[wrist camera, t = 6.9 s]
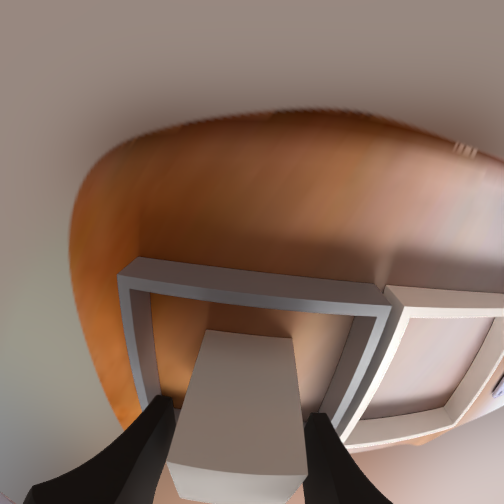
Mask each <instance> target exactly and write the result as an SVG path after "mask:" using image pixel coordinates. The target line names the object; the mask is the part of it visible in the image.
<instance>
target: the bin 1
mask: <svg viewBox="0 0 504 504" xmlns="http://www.w3.org/2000/svg"><path fill="white" fill-rule="evenodd" d="M117 281H118V291H119V299H120V307H121V314H122V321H123V327H124V333H125V339H126V345H127V350H128V355H129V360H130V365H131V369H132V374H133V378H134V382H135V386H136V390H137V394H138V398H139V402H140V405H141V409H142V412H143V411H144V410H145V408H146V407H147V406H148V405H149V403H150V402H151V401H152V400H153V398H154V397H155V396H156V395H162V394H161V388H160V382H159V376H158V369H157V362H156V354H155V346H154V337H153V327H152V316H151V303H150V292H152V293H158V294H164V295H170V296H176V297H183V298H189V299H196V300H203V301H210V302H218V303H225V304H233V305H242V306H250V307H259V308H268V309H278V310H288V311H299V312H311V313H324V314H338V315H354V316H355V318H354V321H353V324H352V327H351V330H350V333H349V336H348V339H347V341H346V344H345V347H344V350H343V353H342V355H341V358H340V361H339V363H338V366H337V369H336V371H335V374H334V376H333V379H332V381H331V384H330V386H329V388H328V391H327V393H326V395H325V398H324V400H323V402H322V405H321V407H320V409H319V411H318V413H326V414H327V415H328V417H329V419H330V421H331V423H332V425H333V427H334V429H336V427H337V426H338V424H339V422H340V421H341V419H342V417H343V415H344V413H345V412H346V410H347V408H348V406H349V404H350V402H351V400H352V398H353V396H354V395H355V393H356V391H357V389H358V387H359V384H360V382H361V380H362V378H363V376H364V374H365V372H366V370H367V368H368V365H369V363H370V361H371V359H372V356H373V354H374V352H375V349H376V347H377V344H378V342H379V340H380V337H381V335H382V332H383V329H384V327H385V324H386V321H387V319H388V316H389V313H390V310H391V308H392V305H391V304H390V303H389V301H388V300H387V299H386V297H385V296H384V295H383V294H382V292H381V291H380V290H379V289H378V287H377V286H376V285H375V284H371V283H360V282H350V281H339V280H329V279H320V278H310V277H301V276H291V275H282V274H273V273H264V272H256V271H247V270H238V269H230V268H222V267H214V266H206V265H198V264H190V263H182V262H174V261H167V260H159V259H152V258H145V257H137V258H136V259H135V260H133V261H132V262H131V263H130V264H129V265H127V266H126V267H125V268H124V269H123V270H122V271H120V272H119V273H118V274H117ZM180 412H181V409H176V408H174V414H175V420H176V426H177V422H178V419H179V416H180ZM306 423H307V422H303V429H304V428H305V425H306ZM175 429H176V428H175Z"/></svg>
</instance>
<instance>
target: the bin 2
mask: <svg viewBox="0 0 504 504" xmlns="http://www.w3.org/2000/svg"><path fill="white" fill-rule="evenodd" d="M383 295H384V296H385V297H386V299H387V300H388V301H389V303H390V304H391V305H392V308H391V310H390V313H389V316H388V319H387V321H386V324H385V327H384V329H383V332H382V335H381V337H380V340H379V342H378V344H377V347H376V349H375V352H374V354H373V356H372V359H371V361H370V363H369V365H368V368H367V370H366V372H365V374H364V376H363V378H362V380H361V382H360V384H359V387H358V389H357V391H356V393H355V395H354V396H353V398H352V400H351V402H350V404H349V406H348V408H347V410H346V412H345V413H344V415H343V417H342V419H341V421H340V422H339V424H338V426H337V427H336V429H335V430H336V432H337V434H338V436H339V438H340V439H341V441H342V443H343V444H344V446H345V448H346V449H351V448H360V447H368V446H375V445H381V444H387V443H393V442H398V441H403V440H408V439H412V438H416V437H421V436H425V435H428V434H432V433H436V432H439V431H443V430H446V429H449V428H452V427H454V426H455V425H456V424H457V423H458V422H459V420H460V419H461V418H462V417H463V415H464V414H465V413H466V412H467V410H468V409H469V408H470V406H471V405H472V404H473V402H474V401H475V400H476V398H477V397H478V395H479V394H480V393H481V391H482V390H483V388H484V387H485V385H486V384H487V382H488V381H489V379H490V377H491V376H492V374H493V373H494V371H495V369H496V368H497V366H498V364H499V363H500V361H501V359H502V357H503V356H504V294H501V293H485V292H470V291H455V290H442V289H429V288H417V287H405V286H393V285H386V287H385V290H384V293H383ZM480 317H495V319H494V322H493V324H492V326H491V328H490V330H489V332H488V334H487V336H486V338H485V340H484V342H483V344H482V346H481V348H480V350H479V352H478V354H477V356H476V357H475V359H474V361H473V363H472V365H471V366H470V368H469V370H468V371H467V373H466V375H465V376H464V378H463V379H462V381H461V383H460V384H459V386H458V387H457V389H456V390H455V392H454V393H453V395H452V396H451V398H450V399H449V400H448V402H447V403H446V405H445V406H444V407H441V408H437V409H433V410H428V411H423V412H418V413H412V414H407V415H401V416H394V417H387V418H378V419H369V420H359V419H360V418H361V416H362V414H363V413H364V411H365V409H366V408H367V406H368V404H369V402H370V401H371V399H372V397H373V395H374V394H375V392H376V390H377V388H378V386H379V384H380V383H381V381H382V379H383V377H384V375H385V373H386V371H387V369H388V367H389V365H390V363H391V361H392V359H393V356H394V354H395V352H396V350H397V348H398V346H399V343H400V341H401V339H402V336H403V334H404V332H405V329H406V327H407V324H408V322H409V319H410V318H480Z"/></svg>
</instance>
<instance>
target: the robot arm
mask: <svg viewBox="0 0 504 504" xmlns="http://www.w3.org/2000/svg"><path fill="white" fill-rule="evenodd" d="M501 395H504V377H503V379H502V380H501V382H500V383H499V385H498V386H497V388H496V389H495V391H494V392H493V394H492V397H493V398H496V397H499V396H501ZM175 428H176V420H175V414H174V407H173V401H172V398H171V397H167V396H163V395H156V396H155V397H154V398H153V400H152V401H151V402H150V403H149V405H148V406H147V407H146V408H145V410H144V411H143V412H142V413H141V414H140V415H139V416H138V418H137V419H136V420H135V421H134V422H133V423H132V424H131V425H130V426H129V427H128V428H127V429H126V430H125V431H124V432H123V433H122V434H121V435H120V436H119V437H118V438H117V439H116V440H114V441H113V442H112V443H111V444H110V445H109V446H108V447H106V448H105V449H104V450H103V451H101V452H100V453H99V454H97V455H96V456H95V457H93V458H92V459H90V460H89V461H87V462H86V463H84V464H82V465H81V466H79V467H77V468H75V469H73V470H72V471H70V472H68V473H65V474H63V475H61V476H59V477H57V478H54V479H52V480H49V481H46V482H43V483H40V484H37V485H34V486H32V488H31V489H30V491H29V492H28V494H27V496H26V498H25V500H24V502H23V504H152V503H153V499H154V494H155V490H156V487H157V484H158V481H159V478H160V475H161V473H162V470H163V467H164V464H165V462H166V459H167V456H168V453H169V450H170V446H171V443H172V439H173V436H174V432H175ZM304 438H305V448H306V458H307V468H308V476H307V477H306V479H305V480H304V481H303V489H304V497H305V504H393V503H392V502H391V501H389V500H388V499H387V498H386V497H385V496H384V495H383V494H382V493H381V492H380V491H379V490H378V489H377V488H376V487H375V486H374V485H373V484H372V483H371V482H370V481H369V479H368V478H367V477H366V476H365V475H364V473H363V472H362V471H361V470H360V468H359V467H358V465H357V464H356V463H355V461H354V460H353V459H352V457H351V455H350V454H349V452H348V451H347V449H346V448H345V446H344V444H343V443H342V441H341V439H340V438H339V436H338V434H337V432H336V430H335V429H334V427H333V425H332V423H331V421H330V419H329V417H328V415H327V414H326V413H311V414H310V416H309V419H308V421H307V423H306V425H305V428H304ZM0 504H16V503H15V502H13V501H12V500H10V499H9V498H8V497H7V496H5V495H4V494H3V493H1V492H0Z"/></svg>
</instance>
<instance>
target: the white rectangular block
mask: <svg viewBox="0 0 504 504" xmlns="http://www.w3.org/2000/svg"><path fill="white" fill-rule="evenodd" d="M166 462H167V465H168V468H169V470H170V474H171V476H172V479H173V482H174V484H175V487H176V489H177V492H178V494H179V496H180V498H183V499H188V500H194V501H199V502H206V503H212V504H286V502H287V501H288V500H289V499H290V497H291V496H292V495H293V494H294V493H295V491H296V490H297V489H298V488H299V486H300V485H301V484H302V482H303V481H304V480H305V479H306V477H307V476H308V468H307V458H306V448H305V438H304V429H303V420H302V411H301V403H300V394H299V386H298V378H297V370H296V363H295V355H294V348H293V340H292V338H279V337H268V336H257V335H248V334H239V333H231V332H223V331H215V330H208V329H206V332H205V335H204V338H203V341H202V344H201V347H200V350H199V354H198V357H197V360H196V363H195V366H194V370H193V373H192V376H191V379H190V383H189V386H188V389H187V392H186V396H185V399H184V402H183V406H182V409H181V412H180V416H179V419H178V422H177V426H176V429H175V432H174V436H173V439H172V443H171V446H170V450H169V453H168V457H167V460H166Z"/></svg>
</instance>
